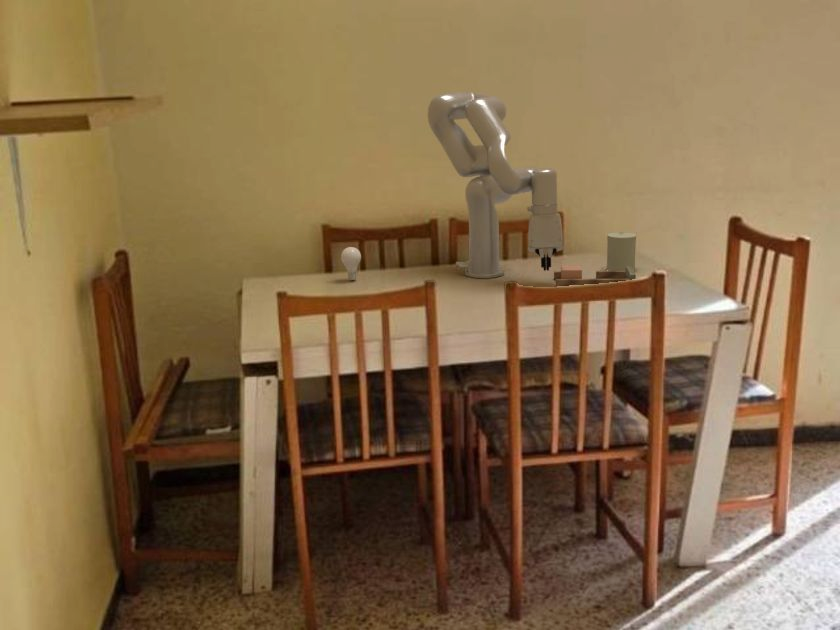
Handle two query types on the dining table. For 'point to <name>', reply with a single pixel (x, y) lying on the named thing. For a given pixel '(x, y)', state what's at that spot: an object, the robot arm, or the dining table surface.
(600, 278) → the channel
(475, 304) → the dining table surface
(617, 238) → the can
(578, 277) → the block
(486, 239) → the robot arm
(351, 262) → the lightbulb
